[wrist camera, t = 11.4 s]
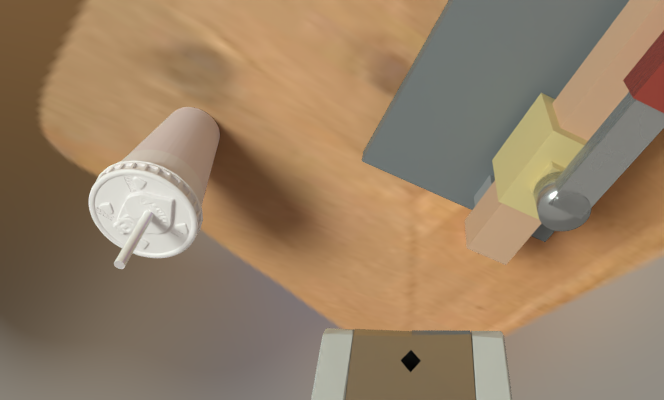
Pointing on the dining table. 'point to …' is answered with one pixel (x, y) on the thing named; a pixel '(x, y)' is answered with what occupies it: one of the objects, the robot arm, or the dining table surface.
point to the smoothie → (158, 188)
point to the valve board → (509, 104)
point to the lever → (607, 147)
